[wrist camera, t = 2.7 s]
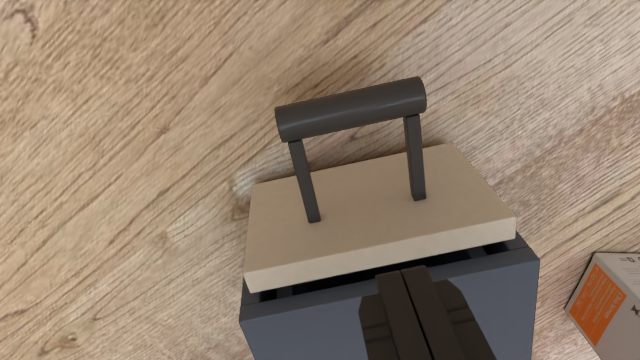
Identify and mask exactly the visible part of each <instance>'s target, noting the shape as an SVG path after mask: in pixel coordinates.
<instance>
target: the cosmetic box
mask: <svg viewBox="0 0 640 360" xmlns="http://www.w3.org/2000/svg"><path fill="white" fill-rule="evenodd" d="M565 312H566V313H567V314H568V316H569V317H570V318H571V320H572V321H573V323H574V324H575V325H576V327H577V328H578V329H579V331H580V332H581V333H582V335H583V336H584V337H585V339H586V340H587V341H588V343H589V344H590V345H591V347H592V348H593V349H594V351H595V352H596V353H597V355H598V356H599V357H600V359H601V360H640V254H635V253H595V254H594V255H593V258H592V260H591V262H590V264H589V266H588V268H587V270H586V272H585V274H584V275H583V277H582V279H581V281H580V283H579V285H578V287H577V288H576V290H575V292H574V294H573V295H572V297H571V299H570V301H569V303H568V304H567V306H566V308H565Z"/></svg>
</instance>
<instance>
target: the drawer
mask: <svg viewBox="0 0 640 360" xmlns="http://www.w3.org/2000/svg"><path fill="white" fill-rule="evenodd" d="M426 106H427V99H426V92H425V88H424V84H423V82H422V80H421V78H420V77H418V76H416V77H411V78H407V79H402V80H398V81H393V82H389V83H384V84H379V85H375V86H370V87H366V88H361V89H356V90H352V91H347V92H343V93H338V94H334V95H329V96H324V97H320V98H315V99H311V100H306V101H302V102H297V103H292V104H288V105H283V106H279V107H275V118H276V123H277V127H278V131H279V135H280V138H281V141H282V142H283V143H286V142H288V146H289V150H290V154H291V157H292V161H293V165H294V169H295V173H296V176H291V177H287V178H282V179H277V180H273V181H268V182H263V183H259V184H254V185H252V193H251V203H250V212H249V221H248V230H247V239H246V248H245V257H244V266H243V276H244V279H245V281H246V284H247V286H248V289H249V291H250V293H255V292H260V291H265V290H270V289H274V288H277V299H279V298H284V297H289V296H294V295H299V294H303V293H308V292H313V291H318V290H323V289H328V288H332V287H337V286H342V285H347V284H352V283H357V282H361V281H366V280H371V279H375V275H379V274H384V273H389V272H394V271H398V270H399V271H400V270H403V269H407V268H412V267H417V266H422V265H425V266H426V268H429V267H434V266H439V265H444V264H448V263H453V262H458V261H463V260H468V259H473V258H477V257H482V256H487V253H486V252H485V250H484V248H483V247H482V245H486V244H491V243H496V242H501V241H506V240H511V239H515V234H516V216H515V214H514V213H513V212H512V211H511V210H510V209H509V207H508V206H507V205H506V204H505V203H504V202H503V200H502V199H501V198H500V197H499V196H498V195H497V193H496V192H495V191H494V190H493V189H492V188H491V186H490V185H489V184H488V183H487V182H486V181H485V179H484V178H483V177H482V176H481V175H480V173H479V172H478V171H477V170H476V169H475V168H474V166H473V165H472V164H471V163H470V162H469V161H468V159H467V158H466V157H465V156H464V155H463V154H462V152H461V151H460V150H459V149H458V148H457V147H456V145H455V144H454V143H453V142H450V143H446V144H441V145H436V146H432V147H427V148H422V137H421V125H420V115H419V114H420V113H424V112H425V111H426ZM402 117H403V122H404V131H405V141H406V151H407V152H403V153H399V154H394V155H389V156H385V157H380V158H375V159H371V160H366V161H361V162H357V163H352V164H347V165H343V166H338V167H333V168H329V169H324V170H319V171H315V172H310V170H309V166H308V162H307V157H306V153H305V149H304V145H303V141H302V139H304V138H309V137H314V136H318V135H323V134H328V133H332V132H337V131H341V130H346V129H351V128H355V127H360V126H365V125H369V124H374V123H378V122H383V121H388V120H392V119H397V118H402Z"/></svg>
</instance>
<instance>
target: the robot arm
mask: <svg viewBox="0 0 640 360" xmlns="http://www.w3.org/2000/svg"><path fill="white" fill-rule="evenodd" d="M375 279H376V285H377V290H378V293H377V294H372V295H368V296H363V297H362V299H361V303H360V306H359V310H358V314H359V318H360V323H361V328H362V333H363V337H364V342H365V347H366V351H367V356H368V360H497V359H496V357H495V355H494V353H493V351H492V349H491V347H490V346H489V344H488V342H487V340H486V338H485V336H484V334H483V332H482V330H481V328H480V326H479V324H478V322H477V321H476V320H475V317H474V315H473V313H472V311H471V309H470V308H469V305H468V303H467V301H466V299H465V297H464V296H463V294H462V292H461V290H460V289H459V288H457V287H456V286H455V285H454V284H453V283H451V282H450V281H449V280H448V279H444V280H439V281H435V282H433V281H432V279H431V276H430V274H429V272H428V270H427V268H426V266H425V265H422V266H417V267H412V268H407V269H403V270H400V271H399V270H398V271H394V272H389V273H384V274H379V275H375Z"/></svg>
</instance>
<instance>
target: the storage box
mask: <svg viewBox="0 0 640 360" xmlns="http://www.w3.org/2000/svg"><path fill="white" fill-rule="evenodd" d="M482 247H483V248H484V250H485V252H486V253H487V256H482V257H477V258H473V259H468V260H463V261H458V262H453V263H448V264H444V265H439V266H434V267H429V268H427V270H428V272H429V274H430V276H431V279H432V281H433V282H435V281H439V280H444V279H448V280H449V281H450V282H451V283H453V284H454V285H455V286H456V287H457V288H459V289H460V290H461V292H462V294H463V296H464V297H465V299H466V301H467V303H468V305H469V308H470V309H471V311H472V313H473V315H474V317H475V320H476V321H477V322H478V324H479V326H480V328H481V330H482V332H483V334H484V336H485V338H486V340H487V342H488V344H489V346H490V347H491V349H492V351H493V353H494V355H495V357H496V359H497V360H531V353H532V343H533V332H534V321H535V310H536V300H537V289H538V278H539V268H540V259H539V258H538V257H537V255H536V254H535V253H534V252H533V250H532V249H531V248H530V247H529V246H528V244H527V243H526V242H525V241H524V239H523V238H522V237H521V236H520V235H519V233H518V232H517V231H516V234H515V239H511V240H506V241H501V242H496V243H491V244H486V245H482ZM377 293H378V290H377V285H376V279H371V280H366V281H361V282H357V283H352V284H347V285H342V286H337V287H332V288H328V289H323V290H318V291H313V292H308V293H303V294H299V295H294V296H289V297H284V298H279V299H277V288H274V289H270V290H265V291H260V292H255V293H250V291H249V289H248V286H247V284H246V281H245V279H244V278H243V288H242V297H241V307H240V315H239V324H240V326H241V328H242V331H243V333H244V335H245V338H246V340H247V342H248V345H249V347H250V349H251V352H252V354H253V356H254V359H255V360H368V356H367V351H366V347H365V342H364V337H363V333H362V328H361V323H360V318H359V314H358V310H359V306H360V303H361V299H362V297H363V296H368V295H372V294H377Z"/></svg>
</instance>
